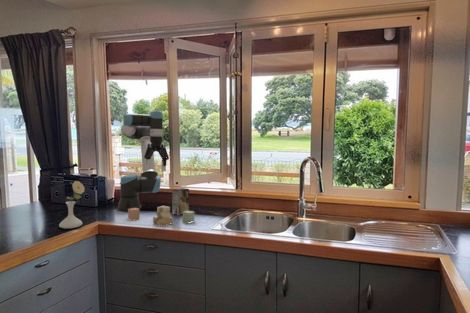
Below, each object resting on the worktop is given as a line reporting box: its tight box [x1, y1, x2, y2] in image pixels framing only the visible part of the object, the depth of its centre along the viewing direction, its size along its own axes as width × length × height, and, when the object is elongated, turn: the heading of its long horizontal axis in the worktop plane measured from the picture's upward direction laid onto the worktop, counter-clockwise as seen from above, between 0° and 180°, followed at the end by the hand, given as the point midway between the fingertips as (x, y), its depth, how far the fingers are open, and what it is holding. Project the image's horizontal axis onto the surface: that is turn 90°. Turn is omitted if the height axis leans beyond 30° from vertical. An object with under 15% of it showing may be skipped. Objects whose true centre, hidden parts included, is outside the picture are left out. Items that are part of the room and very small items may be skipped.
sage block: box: [182, 210, 195, 222], centre depth 190 cm, size 5×5×6 cm
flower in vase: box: [58, 180, 86, 230], centre depth 174 cm, size 13×11×25 cm
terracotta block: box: [127, 208, 141, 221], centre depth 195 cm, size 5×5×6 cm
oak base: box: [152, 216, 174, 227], centre depth 185 cm, size 8×8×4 cm
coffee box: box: [171, 187, 190, 216], centre depth 209 cm, size 9×6×16 cm
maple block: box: [156, 205, 171, 219], centre depth 185 cm, size 5×5×6 cm
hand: (156, 170), depth 199 cm, fingers open, 13 cm apart
